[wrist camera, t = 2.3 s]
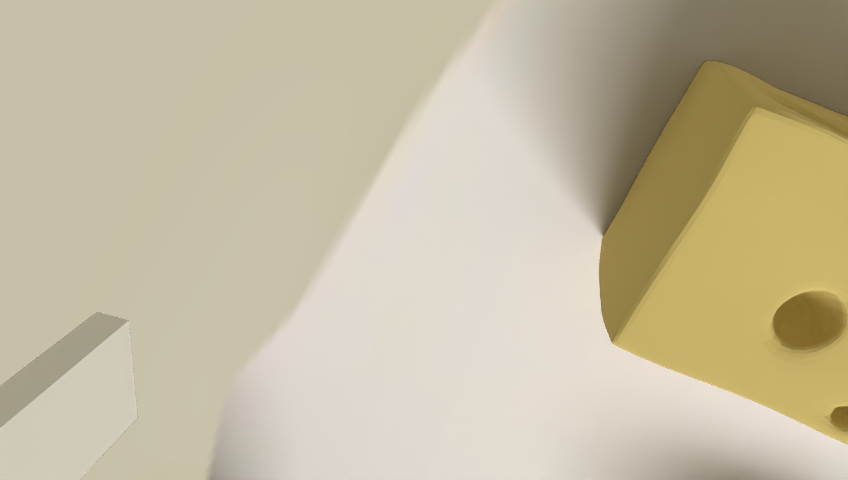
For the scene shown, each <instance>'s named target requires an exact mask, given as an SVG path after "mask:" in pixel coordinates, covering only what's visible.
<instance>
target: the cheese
mask: <svg viewBox="0 0 848 480" xmlns="http://www.w3.org/2000/svg"><path fill="white" fill-rule="evenodd" d="M599 282H600V299H601V310H602V316H603V320H604V324H605V327H606V329H607V332H608V334H609V337H610V339H611V342H612V343H613V344H614V345H616V346H618V347H620V348H622V349H624V350H626V351H629V352H631V353H633V354H635V355H637V356H639V357H641V358H644V359H646V360H649V361H651V362H653V363H656V364H658V365H660V366H663V367H665V368H668V369H671V370H674V371H676V372H679V373H682V374H684V375H687V376H690V377H692V378H695V379H698V380H701V381H703V382H706V383H709V384H711V385H714V386H717V387H719V388H722V389H724V390H727V391H730V392H732V393H735V394H737V395H740V396H742V397H745V398H747V399H750V400H752V401H755V402H757V403H759V404H762V405H764V406H766V407H768V408H771V409H773V410H775V411H778V412H780V413H782V414H784V415H786V416H788V417H790V418H792V419H794V420H796V421H799V422H801V423H803V424H805V425H807V426H809V427H811V428H813V429H815V430H817V431H819V432H821V433H823V434H825V435H828V436H830V437H832V438H834V439H836V440H839V441H841V442H843V443H846V444H848V116H845V115H843V114H840V113H837V112H835V111H832V110H830V109H827V108H825V107H823V106H820V105H818V104H815V103H813V102H810V101H808V100H805V99H803V98H800V97H798V96H795V95H793V94H790V93H788V92H785V91H783V90H780V89H778V88H775V87H774V86H772V85H770V84H768V83H766V82H765V81H763V80H761V79H759V78H757V77H756V76H754V75H752V74H750V73H748V72H746V71H744V70H741V69H739V68H736V67H734V66H731V65H729V64H725V63H722V62H718V61H710V60H708V61H705V62H704V63H703V64H702V66H701V67H700V69H699V71H698V72H697V74H696V76H695V77H694V79H693V81H692V82H691V84H690V86H689V87H688V89H687V91H686V92H685V94H684V96H683V97H682V99H681V101H680V102H679V104H678V106H677V107H676V109H675V111H674V112H673V114H672V116H671V117H670V119H669V121H668V122H667V124H666V126H665V127H664V129H663V131H662V133H661V134H660V136H659V138H658V140H657V141H656V143H655V145H654V147H653V148H652V150H651V152H650V154H649V156H648V157H647V159H646V161H645V163H644V165H643V167H642V168H641V170H640V172H639V174H638V176H637V178H636V179H635V181H634V183H633V185H632V187H631V189H630V191H629V192H628V194H627V196H626V198H625V200H624V202H623V204H622V205H621V207H620V209H619V211H618V212H617V214H616V216H615V217H614V219H613V221H612V222H611V224H610V226H609V228H608V229H607V231H606V233H605V235H604V236H603V238H602V245H601V253H600V263H599Z"/></svg>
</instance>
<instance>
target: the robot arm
mask: <svg viewBox="0 0 848 480" xmlns="http://www.w3.org/2000/svg"><path fill="white" fill-rule="evenodd" d="M137 418H138V413H137V403H136V392H135V382H134V371H133V360H132V350H131V339H130V328H129V321H128V320H125V319H121V318H117V317H113V316H109V315H105V314H102V313H98V312H96V313H95V314H94V315H93V316H91V317H90V318H89V319H87V320H86V321H85V322H83V323H82V324H81V325H79V326H78V327H77V328H76V329H74V330H73V331H72V332H70V333H69V334H68V335H66V336H65V337H64V338H62V339H61V340H60V341H58V342H57V343H56V344H55V345H53V346H52V347H51V348H49V349H48V350H47V351H45V352H44V353H43V354H41V355H40V356H39V357H37V358H36V359H35V360H34V361H32V362H31V363H30V364H28V365H27V366H26V367H24V368H23V369H22V370H20V371H19V372H18V373H17V374H15V375H14V376H13V377H11V378H10V379H9V380H7V381H6V382H5V383H3V384H2V385H1V386H0V480H80V479H81V478H82V477H83V476H84V475H85V474H86V473H87V472H88V471H89V470H90V469H91V468H92V467H93V465H94V464H95V463H96V462H97V461H98V460H99V459H100V458H101V457H102V456H103V455H104V454H105V452H106V451H107V450H108V449H109V448H110V447H111V446H112V445H113V444H114V443H115V442H116V441H117V440H118V439H119V437H120V436H121V435H122V434H123V433H124V432H125V431H126V430H127V429H128V428H129V427H130V425H132V423H133V422H134V421H135V420H136V419H137Z"/></svg>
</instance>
